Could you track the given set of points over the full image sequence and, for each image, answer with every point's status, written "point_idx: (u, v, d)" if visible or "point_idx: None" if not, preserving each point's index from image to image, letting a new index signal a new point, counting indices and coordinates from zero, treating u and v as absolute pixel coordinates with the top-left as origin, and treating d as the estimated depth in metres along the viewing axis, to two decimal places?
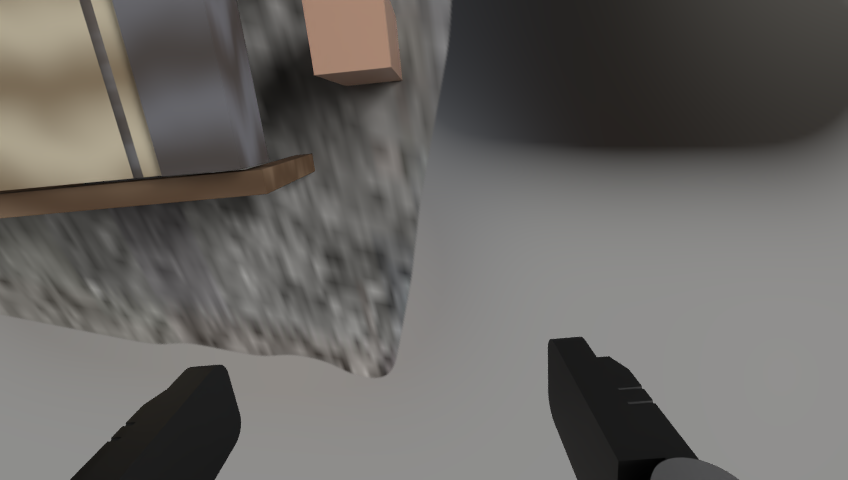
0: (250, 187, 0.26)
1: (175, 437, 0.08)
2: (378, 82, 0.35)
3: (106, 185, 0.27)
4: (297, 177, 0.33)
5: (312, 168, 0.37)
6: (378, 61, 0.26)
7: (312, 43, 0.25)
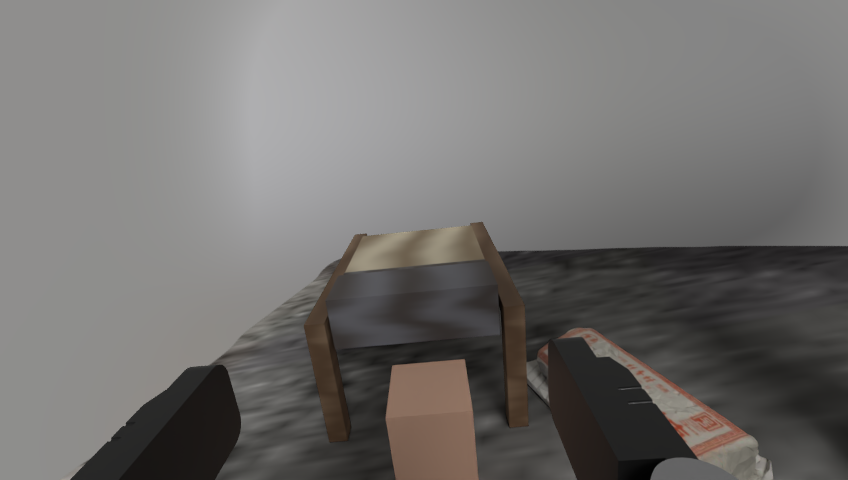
0: (313, 318, 0.32)
1: (175, 437, 0.08)
2: None
3: None
4: (320, 393, 0.33)
5: (332, 436, 0.35)
6: (393, 407, 0.24)
7: (418, 365, 0.28)
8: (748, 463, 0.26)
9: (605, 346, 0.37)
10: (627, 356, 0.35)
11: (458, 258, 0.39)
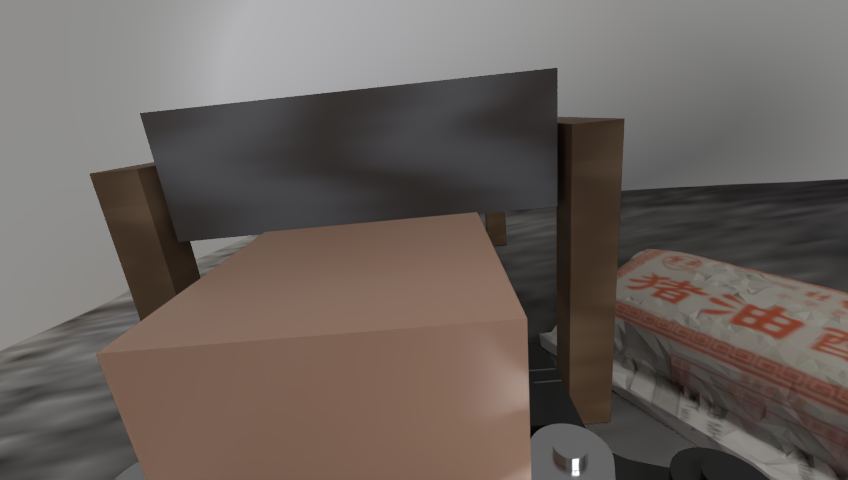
0: (126, 168, 0.14)
1: None
2: None
3: None
4: None
5: None
6: (170, 317, 0.05)
7: (339, 228, 0.09)
8: None
9: (725, 269, 0.18)
10: (786, 279, 0.17)
11: None
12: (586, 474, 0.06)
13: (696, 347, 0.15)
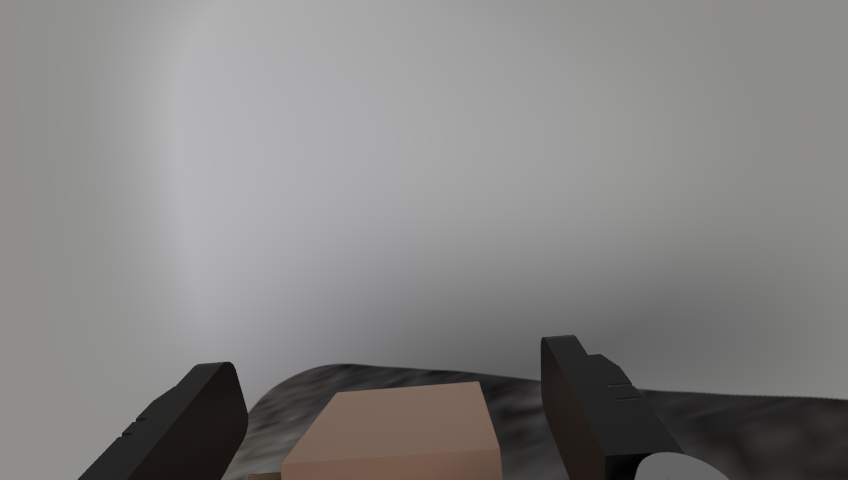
0: None
1: (186, 432, 0.08)
2: None
3: None
4: None
5: None
6: (308, 446, 0.10)
7: (387, 391, 0.14)
8: None
9: None
10: None
11: None
12: None
13: None
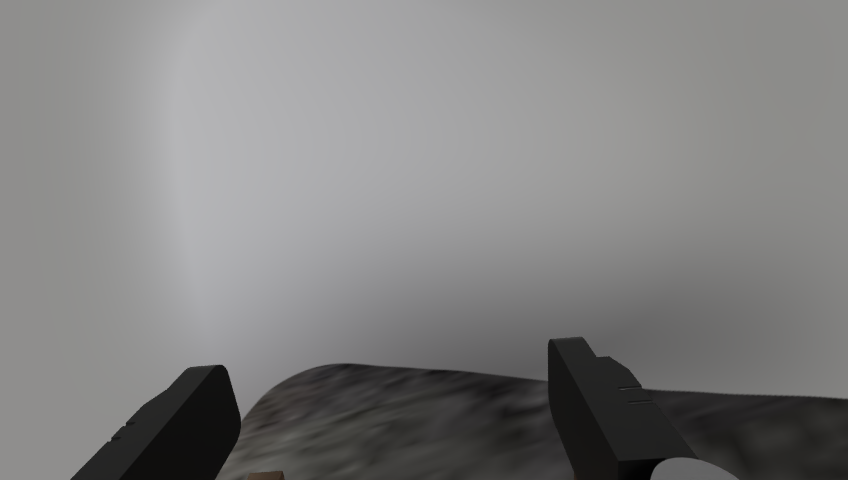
0: None
1: (175, 437, 0.08)
2: None
3: None
4: None
5: None
6: None
7: None
8: None
9: None
10: None
11: None
12: None
13: None
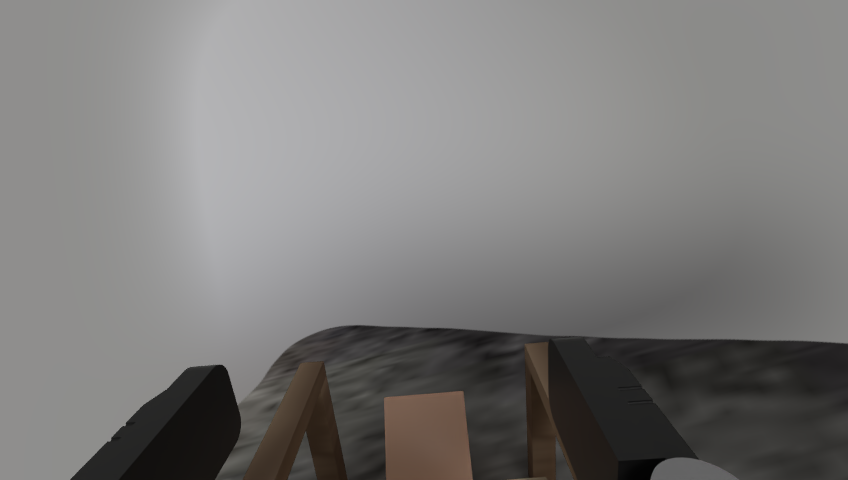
0: None
1: (176, 437, 0.08)
2: None
3: None
4: None
5: None
6: None
7: None
8: None
9: None
10: None
11: None
12: None
13: None
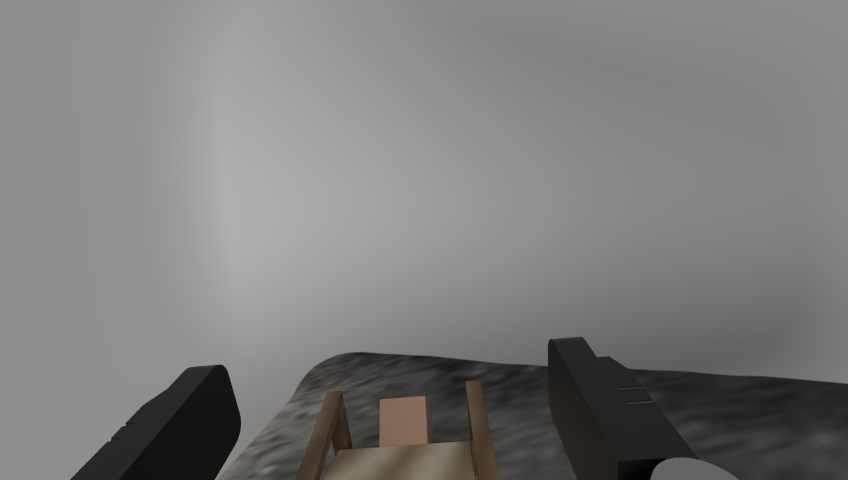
0: None
1: (176, 437, 0.08)
2: (380, 420, 0.43)
3: None
4: None
5: None
6: None
7: None
8: None
9: None
10: None
11: None
12: None
13: None
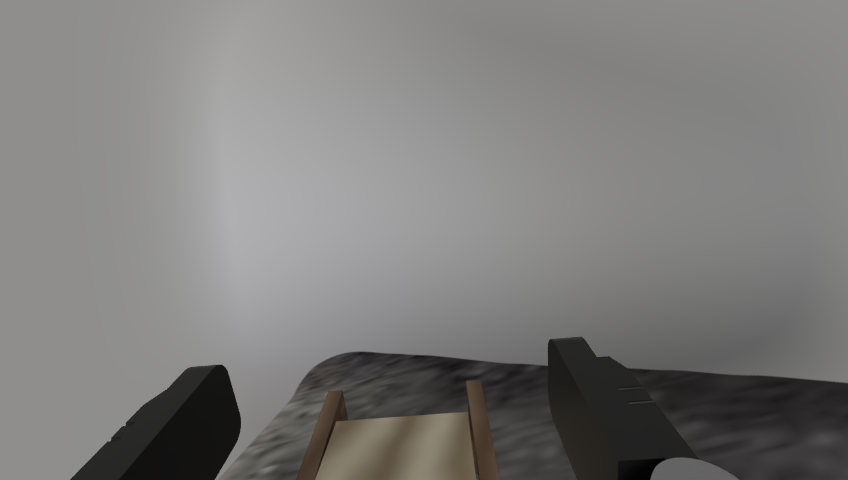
0: None
1: (176, 437, 0.08)
2: None
3: None
4: None
5: None
6: None
7: None
8: None
9: None
10: None
11: None
12: None
13: None
